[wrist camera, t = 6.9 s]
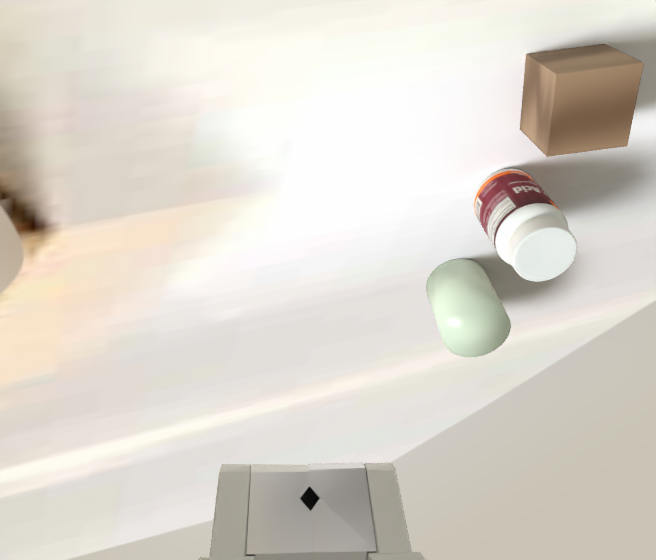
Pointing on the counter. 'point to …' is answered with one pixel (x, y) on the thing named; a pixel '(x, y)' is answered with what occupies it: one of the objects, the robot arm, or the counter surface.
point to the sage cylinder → (467, 308)
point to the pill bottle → (524, 225)
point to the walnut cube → (579, 99)
